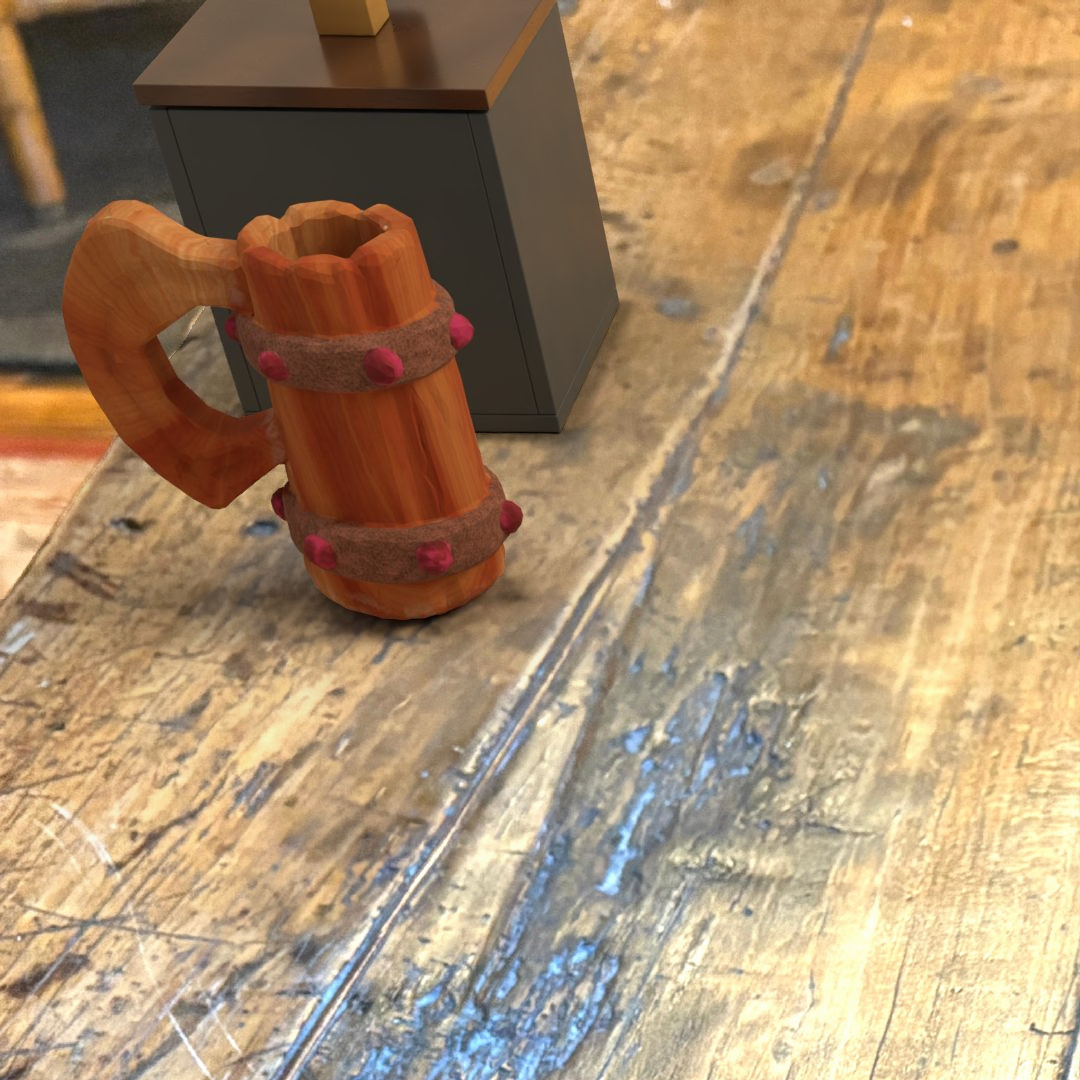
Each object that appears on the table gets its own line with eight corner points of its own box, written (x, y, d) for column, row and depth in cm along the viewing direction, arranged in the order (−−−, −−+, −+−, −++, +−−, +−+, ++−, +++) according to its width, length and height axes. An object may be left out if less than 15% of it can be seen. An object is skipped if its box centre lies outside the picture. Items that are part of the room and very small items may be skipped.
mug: (557, 540, 111) (465, 162, 100) (521, 638, 105) (420, 250, 95) (196, 543, 110) (65, 162, 99) (141, 643, 105) (-5, 251, 94)
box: (248, 430, 117) (146, 109, 108) (331, 300, 127) (243, -5, 117) (560, 433, 118) (487, 114, 108) (620, 304, 127) (557, 0, 118)
